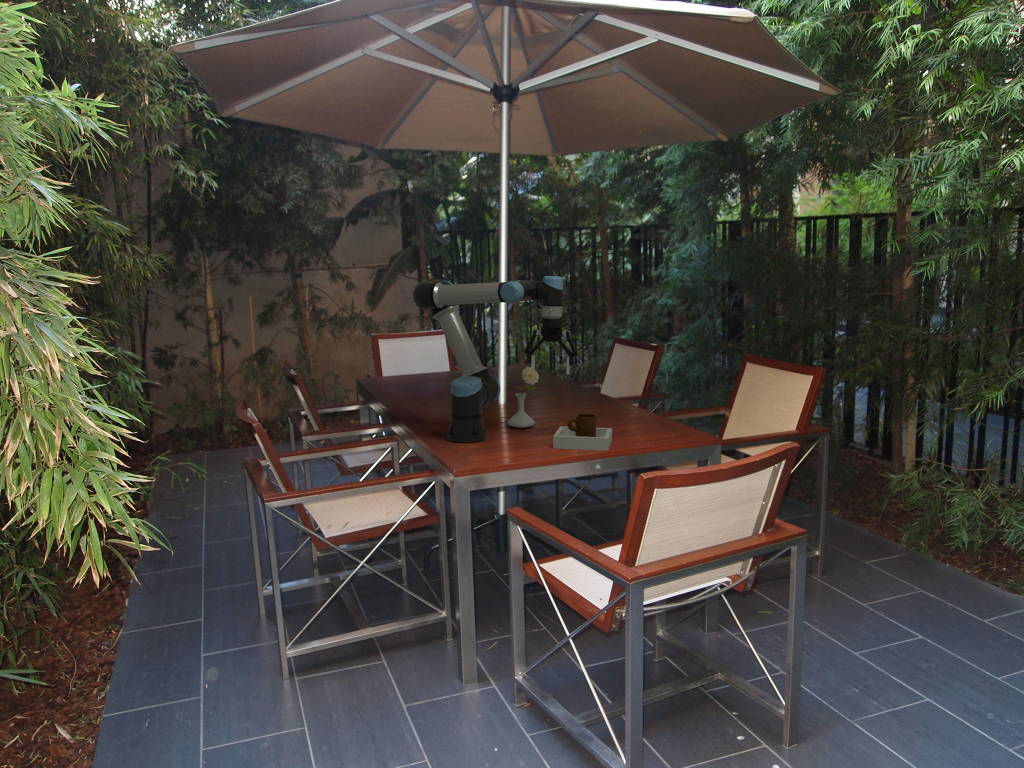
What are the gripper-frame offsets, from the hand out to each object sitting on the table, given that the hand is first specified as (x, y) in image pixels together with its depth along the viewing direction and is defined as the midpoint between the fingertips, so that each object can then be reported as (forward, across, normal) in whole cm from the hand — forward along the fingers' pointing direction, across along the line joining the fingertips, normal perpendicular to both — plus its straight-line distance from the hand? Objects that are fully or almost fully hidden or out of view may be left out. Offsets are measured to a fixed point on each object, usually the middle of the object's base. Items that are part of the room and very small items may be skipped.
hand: (550, 373), depth 306 cm
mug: (+24, +14, -7) cm, 29 cm away
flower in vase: (+26, -14, +19) cm, 35 cm away
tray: (+25, +14, -7) cm, 30 cm away
